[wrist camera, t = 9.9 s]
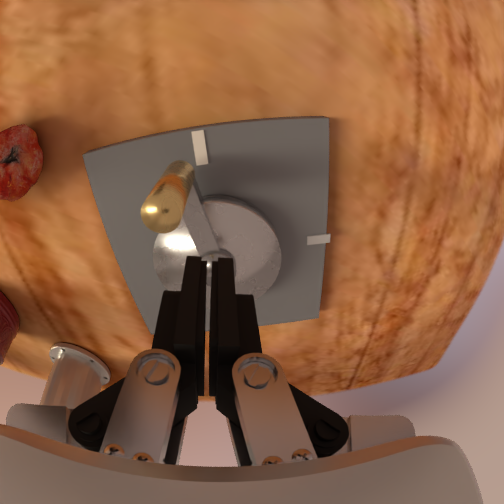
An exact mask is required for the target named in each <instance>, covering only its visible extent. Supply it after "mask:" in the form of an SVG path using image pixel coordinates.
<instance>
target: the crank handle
mask: <svg viewBox="0 0 504 504" xmlns="http://www.w3.org/2000/svg"><path fill="white" fill-rule="evenodd" d="M141 218H142V221H143V223H144V224H145V226H146V227H147V228H149V229H150V230H152V231H154V232H156V233H158V236H157V238H156V241H155V244H154V249H153V263H154V268H155V271H156V273H157V275H158V277H159V279H160V281H161V282H162V284H163V285H164V286H165V287H166V288H167V290H168V291H181V287H182V280H183V274H184V268H185V263H186V257H187V256H202V261H207V285H206V309H210V296H211V273H212V261H218V257H222V258H233V263H234V277H235V291H236V294H253V296H254V300H256V299H257V298H259V297H260V296H262V295H263V294H264V293H265V292H266V291H267V290H268V289H269V288H270V287H271V286H272V284H273V283H274V281H275V280H276V278H277V276H278V273H279V270H280V266H281V250H280V245H279V242H278V238H277V235H276V232H275V229H274V227H273V225H272V224H271V222H270V221H269V219H268V218H267V217H266V216H265V214H264V213H263V212H262V211H260V210H259V209H258V208H257V207H255V206H254V205H252V204H250V203H248V202H246V201H244V200H242V199H239V198H235V197H232V196H226V195H207V196H202V194H201V191H200V189H199V186H198V183H197V181H196V178H195V171H194V168H193V167H192V166H191V165H190V164H189V163H188V162H186V161H182V160H177V161H174V162H172V163H171V164H169V165H168V167H167V168H166V170H165V171H164V173H163V174H162V175H161V177H160V178H159V180H158V181H157V183H156V184H155V186H154V188H153V189H152V191H151V192H150V194H149V195H148V197H147V198H146V200H145V202H144V203H143V205H142V207H141Z"/></svg>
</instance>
